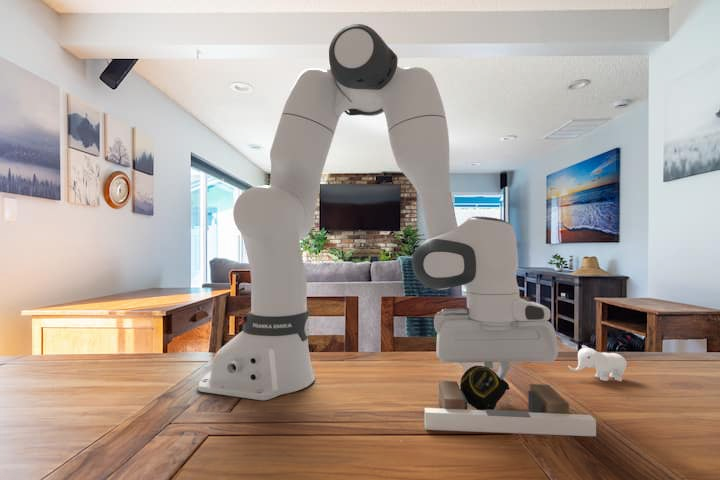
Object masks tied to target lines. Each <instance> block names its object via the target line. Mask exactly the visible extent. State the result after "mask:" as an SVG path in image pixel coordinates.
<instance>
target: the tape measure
mask: <svg viewBox="0 0 720 480" xmlns="http://www.w3.org/2000/svg"><path fill="white" fill-rule="evenodd" d="M459 388H461V389H462V391H463V393H464V395H465V397H466V400H467V405H470V406H471V407H472V408H475V410H485V409H487V410H495V408H496V406H497V403H498V402H499V401H500V400H501V398H503V396H504V395H505V394H506V391H509V390H510V389H511V388H510V385H509V383H508V382H507V381H506V380H504V378H503V379H501V380H500V379H499V377H498V376H497V373H496V372H495V371H494V370H492V368H490V369H489V368H487V367H483V365H474V366H471V367H469V368H468V369H467V370H466V371H465V372H463V375H462V376H461V379H460V384H459Z"/></svg>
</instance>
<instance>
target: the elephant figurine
mask: <svg viewBox="0 0 720 480" xmlns="http://www.w3.org/2000/svg"><path fill="white" fill-rule="evenodd" d="M577 362H578V364H577V367H576V368H575V367H574V368H573V367H571V365H568V366H567V367H568V368H569V369H570V370H572V371H576V372H577V371H582V370H583V369H584V368H595V371H596V373H595V374H594V377H596V378H598V379H600V381H603V382H609V377H610V378H614V380H615V381H618V382H622V381H623V379H622V376H623V374H624V373H625V370H626V367H627V364H628V362H627V360H626V359H625V357H624V356H623V355H621V354H619V353H616V352H610V353H609V352H599V351H597V350H595V349H594V348H591V347H588V346H587V345H584V344H582V345H581V348H580V349H579V350H578V352H577ZM608 376H609V377H608Z"/></svg>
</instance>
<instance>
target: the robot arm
mask: <svg viewBox="0 0 720 480" xmlns="http://www.w3.org/2000/svg"><path fill="white" fill-rule="evenodd" d="M328 47H329V48H328V65H329V66H328V67H329V69H326V70H324V69H321V68H316V67H313V68H308V69H304V70H303V71H302V72H301V73H300V74H299V75H298V76H297V79H296V80H295V83H294V84H293V85H292V88H291V90H290V91H289V95H288V97H287V99H286V101H285V104H284V106H283V109H282V112H281V115H280V118H279V122H278V125H277V127H276V132H275V135H274V138H273V141H272V145H271V148H270V151H269V159H270V166H271V167H270V177H269V178H270V180H269V185H257V186H253V187H250V188H248V189H246V190H244V191H243V192H242V193H241V194H240V195H239V196H238V198H237V199H236V201H235V203H234V207H233V211H232V215H233V221H234V224H235V226H236V229H238V231H239V232H240V235H241V236H242V239H243V243H244V247H245V252H246V255H247V260H248V264H249V265H248V266H249V271H250V273H249V274H250V297H251V298H250V303H251V304H250V305H251V310H249V311H248V312H247V313H246V314H245V315H243V316H242V317H241V318H239V319H238V321H239V323H238V324H239V325H240V326H241V325H242V331H240V332H238V334H237V335H236V336H234V337H233V338H232V339H230V340H228V342H226V343H225V344H224V345H223V346H222V347H220V349H218V350H217V352H216V353H215V355H214V357H213V360H212V364H211V369H210V371H209V372H207V373H206V374H205V375H204V376H202V378H201V379H199V382H198V384H197V385H198V386H197V390H198V391H199V392H202V393H208V394H216V395H222V396H223V395H224V396H229V397H235V398H236V397H237V398H244V399H249V400H250V399H251V400H258V401H267V400H268V401H269V400H272V399H273V398H274V399H275V398H276V397H278V396H279V397H280V396H281V395H285V394H290V393H291V394H292V393H294V392H297V391H300V390H304V389H305V388H307V387H309V386H310V385H311V384H312V383H313V382H314V381H315V379H316V378H315V373H314V370H313V367H312V362H311V356H310V350H309V349H310V348H309V341H308V339H309V336H310V316H309V310H308V308H307V307H308V306H307V302H308V301H307V297H308V295H307V283H308V281H307V280H308V279H307V270H306V268H305V265H304V260H303V256H302V255H303V254H302V250H301V242H300V241H302V240H303V239H304V238H306V237H307V236H308V235H309V233H310V232H311V231H312V230H313V228H314V225H315V214H316V210H317V205H318V200H319V193H320V189H321V188H320V186H321V180H322V175H323V171H324V168H325V165H326V161H327V157H328V155H329V152H330V149H331V145H332V142H333V139H334V136H335V133H336V130H337V125H338V123H339V120H340V118H341V116H342V114H343V113H345V114H346V115H348V116H365V117H366V116H367V117H371V116H374V117H375V116H378V115H380V114H382V113H384V116H385V121H386V124H387V126H386V127H387V131H388V137H389V144H390V147H391V151H392V153H393V157H394V159H395V162H396V164H397V167H398V168H399V170H400V171H401V173H402V174H404V176H405V178H407V180H408V181H409V182H410V183H411V185H412V186H413V188H414V189H415V191H416V193H417V194H418V197H419V200H420V203H421V207H422V212H423V216H424V221H425V226H426V231H427V238H428V239H426V240H424V241H423V242H422V243H420V244H419V245H418V246H417V247H416V249H415V251H414V252H413V255H412V258H411V267H412V270H413V274H414V277H416V279H417V281H419V283H421V285H423V286H425V287H426V288H429V289H434V290H439V291H440V290H441V291H442V290H448V289H451V288H454V287H460V286H464V287H465V290H466V291H465V293H466V308H465V307H463V308H442V309H441V311H438V312H436V313H435V315H434V318H433V329H434V331H435V333H436V345H435V346H436V347H435V348H436V357H437V358H438V359H439V361H441V362H442V363H445V364H446V363H450V364H451V363H453V364H454V363H481V366H483V367H487V368H489V369H493V367H494V365H493V364H494V363H497V364H498V365H499V368H498V370H497V373H496V374H497V376H498V377H499V379H500V380H501V379H503V380H504V379H505V377H506V376H507V374H508V372H509V370H510V368H511V367H510V363H541V362H542V363H549V362H550V363H552V362H554V361H555V360H556V359H557V357H558V355H559V349H558V348H559V347H558V340H557V334H556V330H555V327H554V325H553V324H552V323H551V322H550V321H549V320H550V319H551V310H550V309H549V307H547V306H546V305H543V304H542V303H539V302H538V303H537V302H535V301H531V300H529V299H527V298H521V297H520V288H519V284H518V281H517V273H518V269H519V257H518V255H519V254H518V253H519V252H518V244H517V237H516V233H515V229H514V228H513V226H512V225H511V224H510V223H509V222H508V221H506V220H504V219H502V218H498V217H497V218H495V217H490V216H489V217H488V216H471V217H469V218H467V220H465V221H464V222H463V223H461V224H460V225H458V223H457V218H456V212H455V209H454V208H455V207H454V202H453V198H452V193H451V183H450V179H451V178H450V138H449V129H448V122H447V117H446V112H445V108H444V103H443V101H442V96H441V94H440V90H439V88H438V85H437V84H436V81H435V78H434V76H433V75H432V73H431V72H430V71H429V70H428V69H425V68H423V67H418V66H411V67H404V68H402V67H400V66H398V61H399V60H398V59H399V58H398V55H397V54H396V53H395V52H394V51H393V49H391V48H390V46H389V45H388V44H387V43H386V41H384V39H383V37H382V36H380V34H378V32H377V31H375V30H374V29H373V28H372V27H369V25H366V24H363V23H362V24H361V23H355V24H349V25H347V26H344V27H343V28H341V29H340V30H338V32H337V33H335V35H334V36H333V38H332V39H331V42H330V44H329V46H328Z"/></svg>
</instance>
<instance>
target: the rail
mask: <svg viewBox="0 0 720 480" xmlns="http://www.w3.org/2000/svg"><path fill="white" fill-rule="evenodd" d="M527 404H528V411H527V410H509V409H507V410H505V409H494V410H487V409H485V410H477V409H468V403H467V400H466V397H465V395H464V393H463V391H462V389H461V387H460V384H459V383H458V382H457V381H454V380H452V381H449V380H439V381H438V407H439V408H435V407H424V429H425V431H426V430H430V431H431V430H432V431H453V432H454V431H455V432H476V433H477V432H478V433H479V432H480V433H481V432H482V433H498V434H499V433H501V434H503V433H505V434H506V433H507V434H527V435H528V434H530V435H549V436H550V435H551V436H552V435H556V436H576V437H577V436H578V437H579V436H580V437H597V420H596V418H594V417H593V416H592V414H574V413H572V414H571V413H570V410H569V408H570V403H569V402H568V401H567V400H566V399H564V397H562V396H561V395H560V394H559V393H558V392H557V391H556V390H555V389H554V388H552V386H551V385H550V384H538V383H536V384H533V383H530V384H529V390H528V403H527Z"/></svg>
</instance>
